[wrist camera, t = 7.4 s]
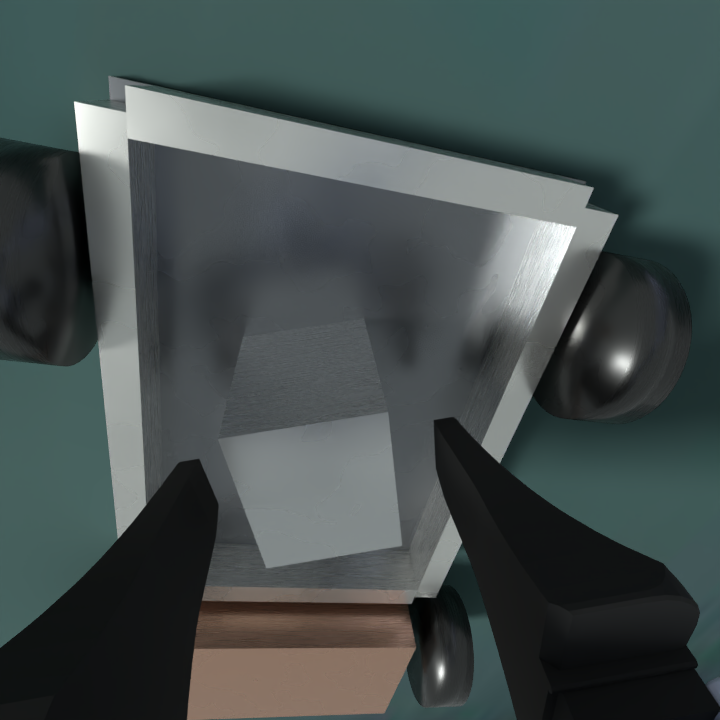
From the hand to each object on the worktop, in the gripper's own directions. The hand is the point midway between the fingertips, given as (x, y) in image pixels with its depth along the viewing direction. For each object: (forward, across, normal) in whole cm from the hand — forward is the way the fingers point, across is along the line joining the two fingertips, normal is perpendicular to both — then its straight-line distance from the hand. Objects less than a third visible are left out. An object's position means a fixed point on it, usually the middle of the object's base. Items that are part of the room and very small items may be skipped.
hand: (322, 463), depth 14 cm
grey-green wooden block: (+3, 0, -1) cm, 3 cm away
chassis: (+3, +1, +3) cm, 5 cm away
